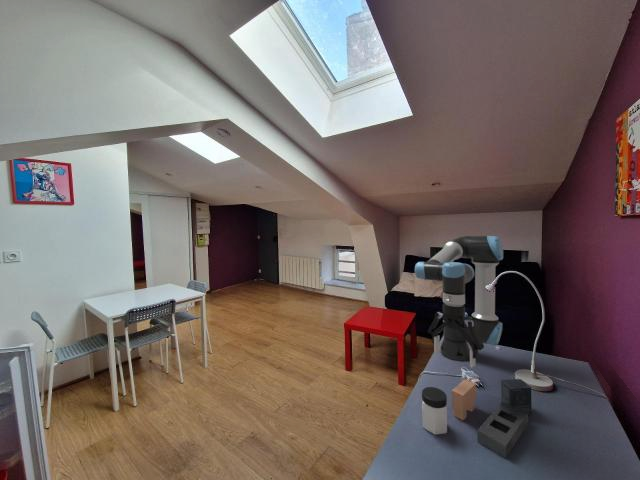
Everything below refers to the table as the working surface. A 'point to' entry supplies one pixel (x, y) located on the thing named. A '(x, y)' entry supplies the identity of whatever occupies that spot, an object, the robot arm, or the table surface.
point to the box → (516, 394)
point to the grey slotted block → (502, 429)
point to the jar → (434, 410)
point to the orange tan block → (463, 398)
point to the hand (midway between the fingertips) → (453, 358)
